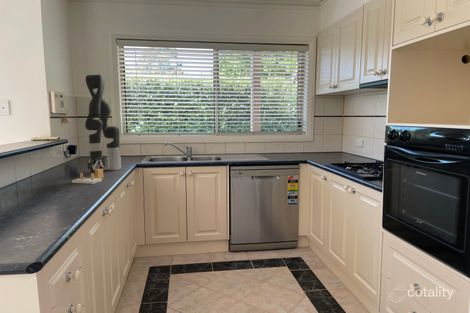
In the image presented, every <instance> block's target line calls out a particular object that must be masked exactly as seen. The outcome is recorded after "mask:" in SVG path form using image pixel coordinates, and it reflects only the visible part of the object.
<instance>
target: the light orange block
mask: <svg viewBox="0 0 470 313" xmlns="http://www.w3.org/2000/svg"><path fill="white" fill-rule="evenodd" d="M94 171H95V175H94V178H102V179H103V178H104V177H105V176H104V168H103V169H99V168H94Z"/></svg>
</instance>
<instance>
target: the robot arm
mask: <svg viewBox="0 0 470 313" xmlns="http://www.w3.org/2000/svg"><path fill="white" fill-rule="evenodd" d="M85 83H86V86H87V88H88V92H89V93H90V95H91V98H92V99H90V102H89V105H88V114H87V117H86V119H85V123H84V127H85V129H86V130H87V131H96V132H94V133H92V134H89V135H88V141H89V142H88V143H89V146H88V149H89V150H88V151H89V157H90V158H91V159H88V160H87V169H88V170H90V174H91V173H94V175H95V171H94V169H96V166H98V169H103V170H104V167H105V166H106V161H105V157H103V148H102V147H103V146H102V141H101V140H102V138H101V135H102V134H103V136H104V138H105V139H112V141H110V142H108V143H106V156H107V157H106V158H107V170H108V171H119V170H121V169H122V157H121V150H120V128H119V127H118V126H115V125H114V126H113V125H112V126H111V125H110V126H109V124H108V120H109V118H110V115H111V108H110V104H109V102H108V101H107V100H106V99H105V98H104V97H103V94H104V90H105V78H104V76H103V75H102V74H88V75H86V76H85ZM96 118H97V119H96Z"/></svg>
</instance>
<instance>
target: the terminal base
mask: <svg viewBox="0 0 470 313" xmlns="http://www.w3.org/2000/svg"><path fill="white" fill-rule="evenodd" d="M79 177H80V178H75V179H73V180H71V183H72V184H87V185H89V184H90V185H93V184H97V183H100V182H102V181H103V178H94V173H91V172H90V177H84V173H83V172H80V173H79Z"/></svg>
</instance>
